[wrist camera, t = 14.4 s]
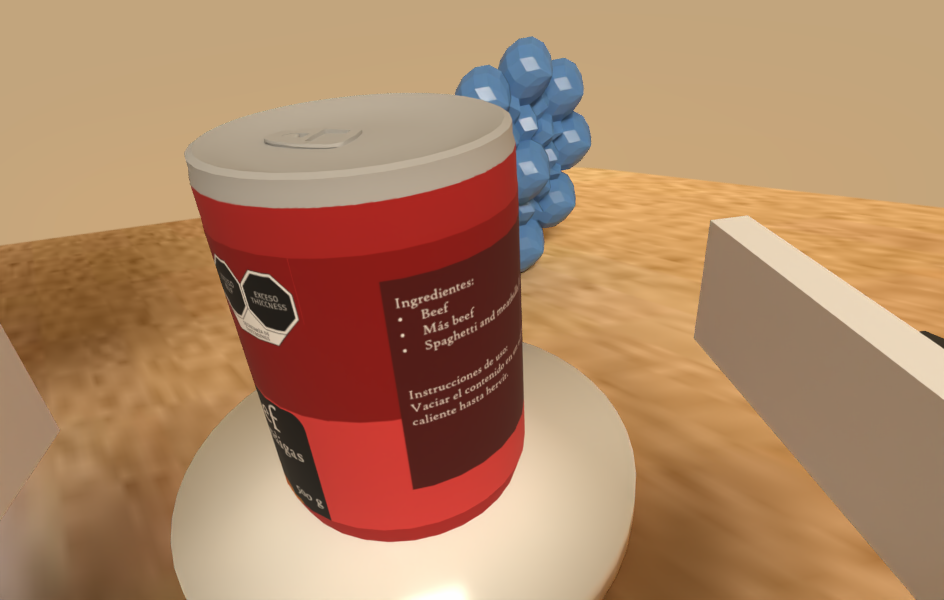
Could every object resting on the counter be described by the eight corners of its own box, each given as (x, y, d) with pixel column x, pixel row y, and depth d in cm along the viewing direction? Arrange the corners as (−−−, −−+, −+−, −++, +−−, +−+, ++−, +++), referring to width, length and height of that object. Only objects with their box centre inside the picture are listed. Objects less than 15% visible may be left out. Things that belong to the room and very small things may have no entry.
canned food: (314, 389, 23) (240, 102, 18) (516, 376, 23) (504, 82, 18) (256, 560, 17) (110, 191, 11) (538, 544, 17) (530, 160, 11)
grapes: (527, 220, 40) (522, 22, 33) (613, 247, 35) (625, 25, 29) (387, 287, 33) (350, 55, 27) (472, 330, 28) (450, 65, 22)
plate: (68, 615, 17) (50, 589, 16) (334, 332, 29) (330, 312, 29) (593, 813, 12) (595, 788, 12) (652, 378, 24) (654, 354, 24)
